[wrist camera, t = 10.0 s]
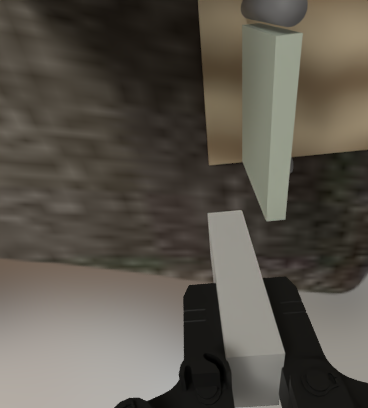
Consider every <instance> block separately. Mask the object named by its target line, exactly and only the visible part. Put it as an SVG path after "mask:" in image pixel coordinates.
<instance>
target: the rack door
mask: <svg viewBox="0 0 368 408" xmlns="http://www.w3.org/2000/svg"><path fill="white" fill-rule="evenodd" d="M307 7H308V2H307V0H243V1H242V3H241V13H242V15H243V16H244V17H245V18H247V19H251V20H256V21H260V22H265V23H270V24H274V25H279V26H284V27H293V26H295V25H297V24H298V23H300V22H301V21H302V19H303V18H304V16H305V14H306V12H307ZM302 36H303V33H300V32H296V31H292V30H288V29H283V28H279V27H275V26H270V25H266V24H262V23H254V24H246V25H242V162H243V164H244V167H245V169H246V172H247V174H248V177H249V179H250V182H251V184H252V187H253V189H254V192H255V194H256V197H257V199H258V202H259V204H260V207H261V209H262V212H263V214H264V217H265V219H266V221H275V220H285V216H286V206H287V195H288V184H289V174H290V173H291V172H292V171H293V160H292V157H291V153H292V142H293V131H294V121H295V110H296V100H297V89H298V79H299V68H300V57H301V47H302Z"/></svg>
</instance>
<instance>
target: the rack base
mask: <svg viewBox="0 0 368 408" xmlns="http://www.w3.org/2000/svg"><path fill="white" fill-rule="evenodd" d="M242 1H243V0H198V12H199V27H200V42H201V57H202V71H203V86H204V101H205V116H206V131H207V146H208V161H209V165H218V164H228V163H238V162H242V25H246V24H254V23H262V24H266V25H270V26H275V27H279V28H283V29H288V30H292V31H296V32H300V33H303V36H302V47H301V57H300V68H299V79H298V89H297V100H296V110H295V121H294V131H293V142H292V153H291V157H298V156H308V155H318V154H328V153H338V152H348V151H358V150H368V0H307V2H308V7H307V12H306V14H305V16H304V18H303V19H302V21H301V22H300V23H298V24H297V25H295V26H293V27H284V26H279V25H274V24H270V23H265V22H260V21H256V20H251V19H247V18H245V17H244V16H243V15H242V13H241V3H242Z"/></svg>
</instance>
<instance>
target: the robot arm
mask: <svg viewBox="0 0 368 408" xmlns="http://www.w3.org/2000/svg"><path fill="white" fill-rule="evenodd" d="M208 226H209V239H210V252H211V262H212V271H213V279H214V283H210V284H198V285H189V286H188V288H187V290H186V292H185V295H184V297H183V298H184V299H183V304H184V361H183V362H182V364H181V367H180V371H179V379H180V380H179V381H178V383H177V384H176V385H175V386H174V387H173V388H172V389H171V390H169V391H168V392H166V393H164V394H163V395H160V396H158V397H155V398H153V399H151V400H149V401H145V400H143V399H141V398H128V399H126V400H124V401H122V402H120V403H119V404H118V405H117V406H116V407H114V408H236V407H252V406H269V405H279V398H280V401H281V405H282V408H368V383H365V382H361V381H357V380H354V379H352V378H349V377H347V376H345V375H343V374H342V373H340V372H338V371H337V370H336V369H335V368H334V367H333V366H332V365H331V364H330V363H329V362H328V360H327V359H326V357H325V355H324V353H323V351H322V348H321V346H320V344H319V341H318V339H317V336H316V334H315V332H314V329H313V327H312V324H311V322H310V319H309V317H308V315H307V313H306V310H305V307H304V305H303V303H302V301H301V298H300V295H299V293H298V290H297V288H296V286H295V285H294V284H293V283H292V282H291V281H290V280H289V279H288V278H287V277H273V278H262V275H261V272H260V269H259V265H258V262H257V259H256V255H255V252H254V249H253V246H252V242H251V239H250V236H249V232H248V229H247V226H246V222H245V219H244V216H243V213H242V210H237V211H227V212H216V213H208Z"/></svg>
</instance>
